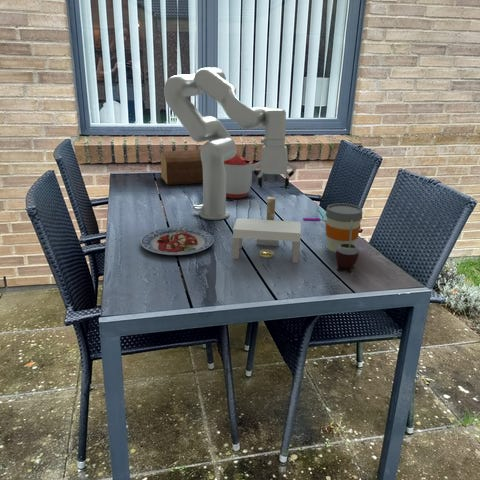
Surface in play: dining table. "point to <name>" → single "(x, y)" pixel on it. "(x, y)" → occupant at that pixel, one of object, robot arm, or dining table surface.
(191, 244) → the ceramic plate
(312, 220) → the squeegee
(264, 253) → the brass token
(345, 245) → the mate gourd
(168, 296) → the dining table surface
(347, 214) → the reusable coffee cup
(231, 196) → the citrus juicer
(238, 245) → the white bench
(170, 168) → the bread
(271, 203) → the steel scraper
